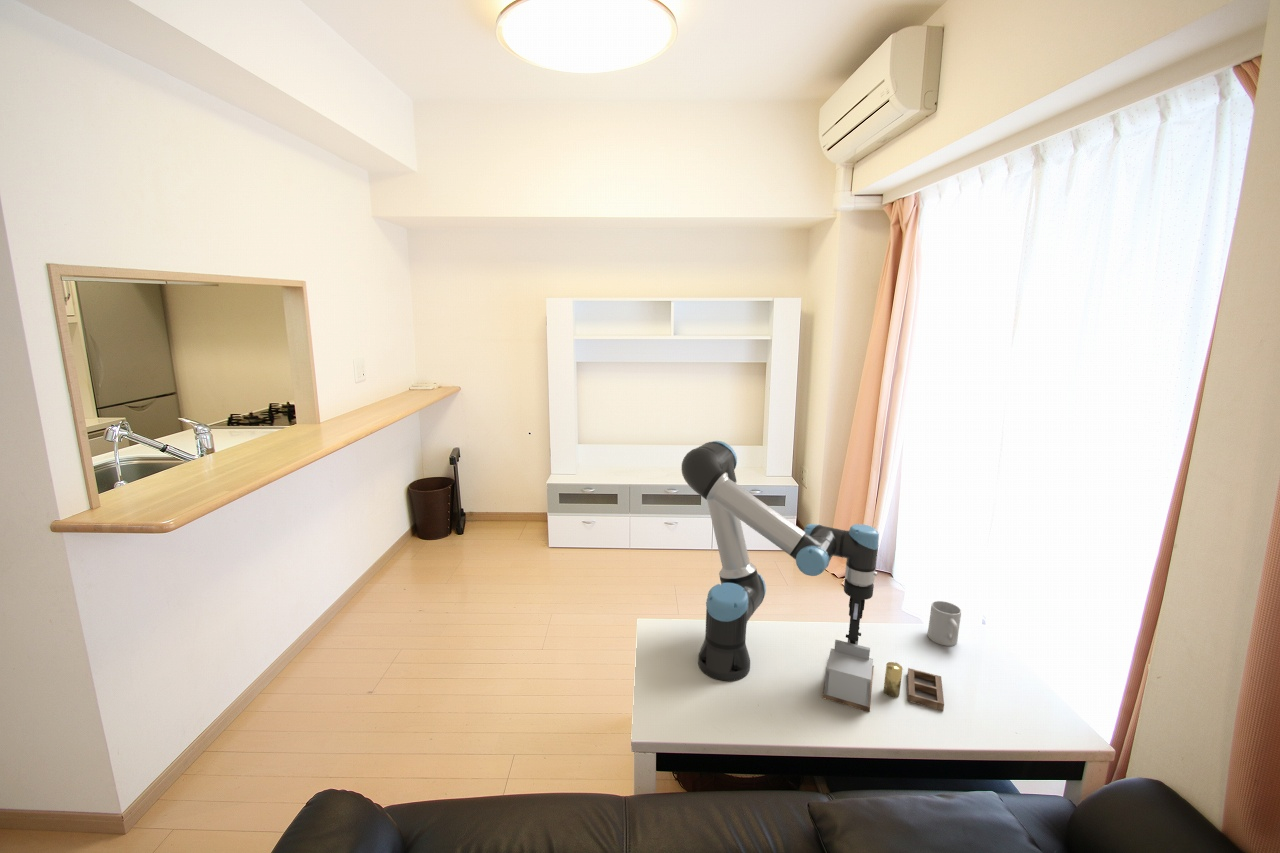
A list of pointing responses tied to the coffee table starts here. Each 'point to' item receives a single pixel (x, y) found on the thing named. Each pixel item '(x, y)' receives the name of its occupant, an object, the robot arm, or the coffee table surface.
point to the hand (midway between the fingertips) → (851, 657)
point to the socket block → (925, 689)
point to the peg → (893, 679)
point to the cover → (849, 673)
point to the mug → (944, 623)
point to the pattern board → (849, 701)
